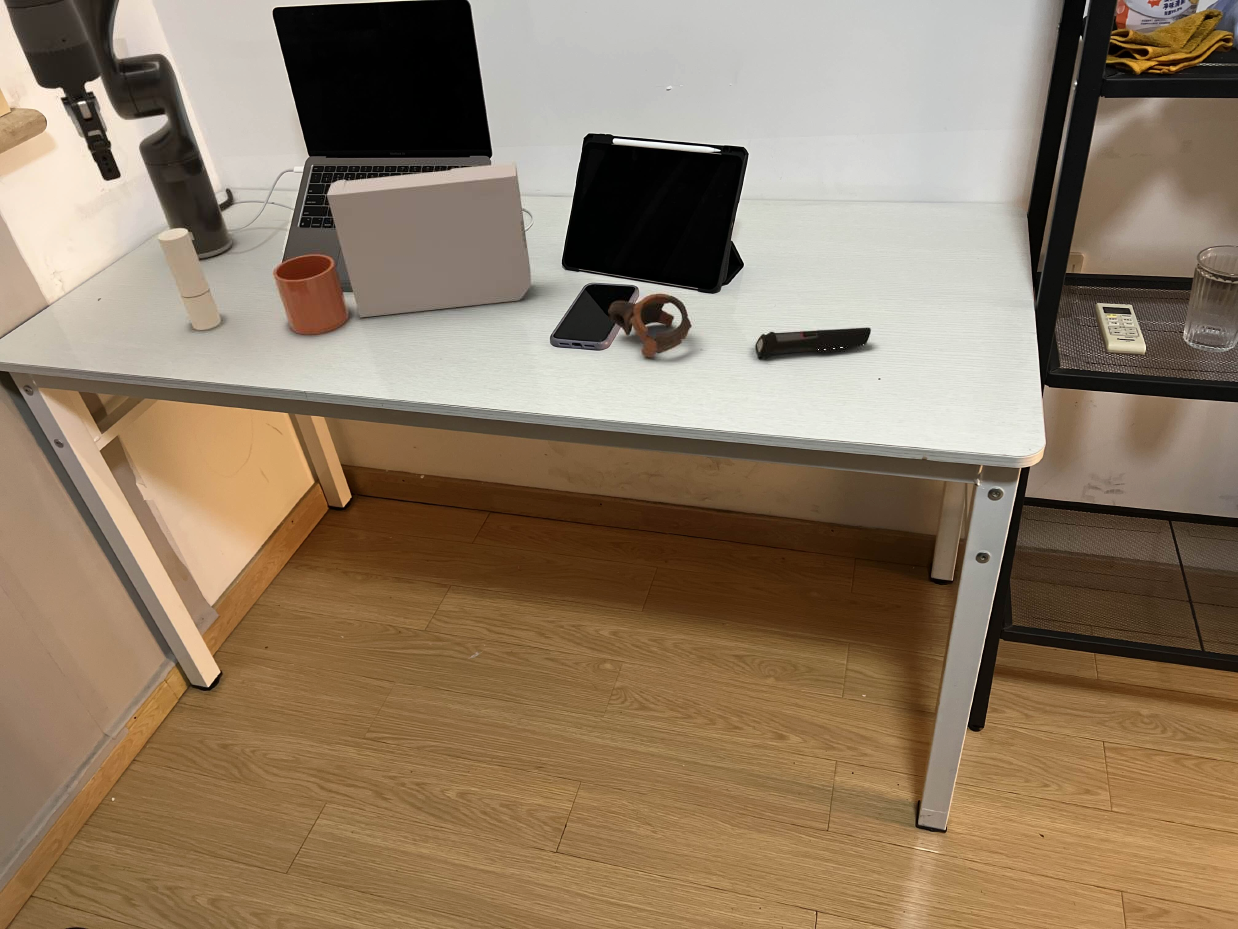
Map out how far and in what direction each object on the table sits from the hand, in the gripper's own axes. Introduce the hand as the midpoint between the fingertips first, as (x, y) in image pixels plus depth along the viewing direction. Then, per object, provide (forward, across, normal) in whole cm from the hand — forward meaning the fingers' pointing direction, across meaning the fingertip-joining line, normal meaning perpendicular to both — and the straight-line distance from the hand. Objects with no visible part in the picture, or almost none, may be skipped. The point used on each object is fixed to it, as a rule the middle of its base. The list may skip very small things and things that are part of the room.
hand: (108, 169), depth 124 cm
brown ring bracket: (+27, -44, -57) cm, 77 cm away
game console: (+28, -13, -39) cm, 49 cm away
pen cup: (+27, -6, -20) cm, 34 cm away
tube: (+28, +5, -5) cm, 28 cm away
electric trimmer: (+27, -59, -73) cm, 98 cm away
